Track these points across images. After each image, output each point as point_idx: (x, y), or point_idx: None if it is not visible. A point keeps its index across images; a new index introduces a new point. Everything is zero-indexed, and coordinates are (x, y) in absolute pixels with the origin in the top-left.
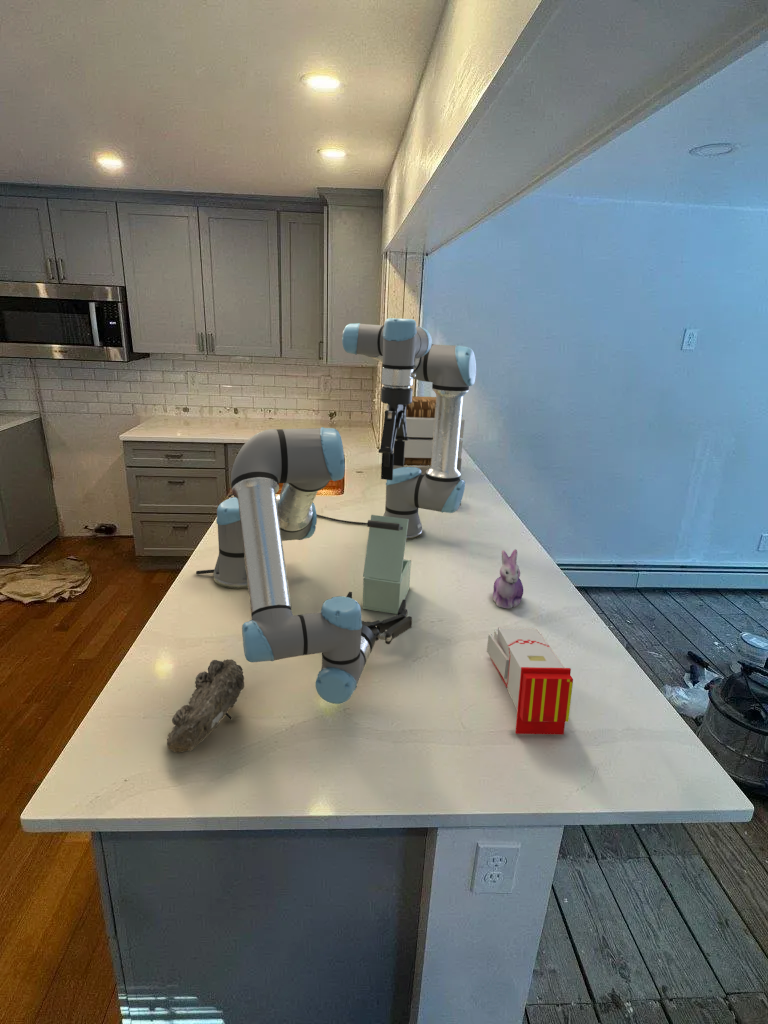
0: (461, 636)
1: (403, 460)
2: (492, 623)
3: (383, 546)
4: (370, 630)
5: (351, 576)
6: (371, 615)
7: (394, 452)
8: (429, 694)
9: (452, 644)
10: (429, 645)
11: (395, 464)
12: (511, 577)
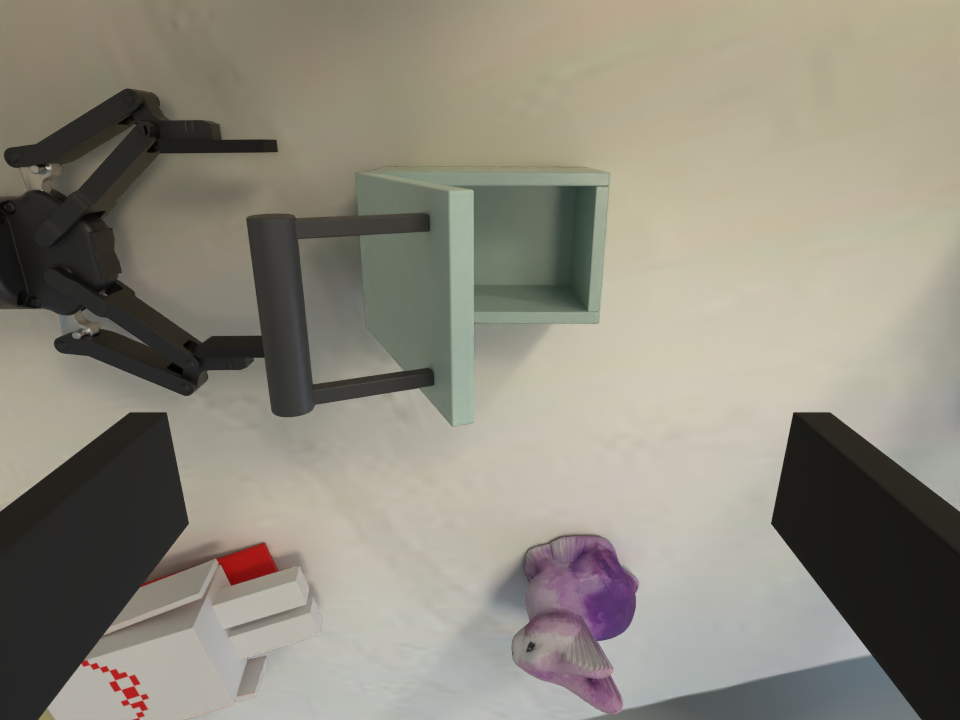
0: (340, 473)
1: (819, 568)
2: (435, 538)
3: (396, 268)
4: (3, 301)
5: (625, 48)
6: (356, 209)
7: (905, 523)
8: (64, 432)
9: (292, 457)
10: (262, 404)
11: (794, 447)
12: (515, 652)
